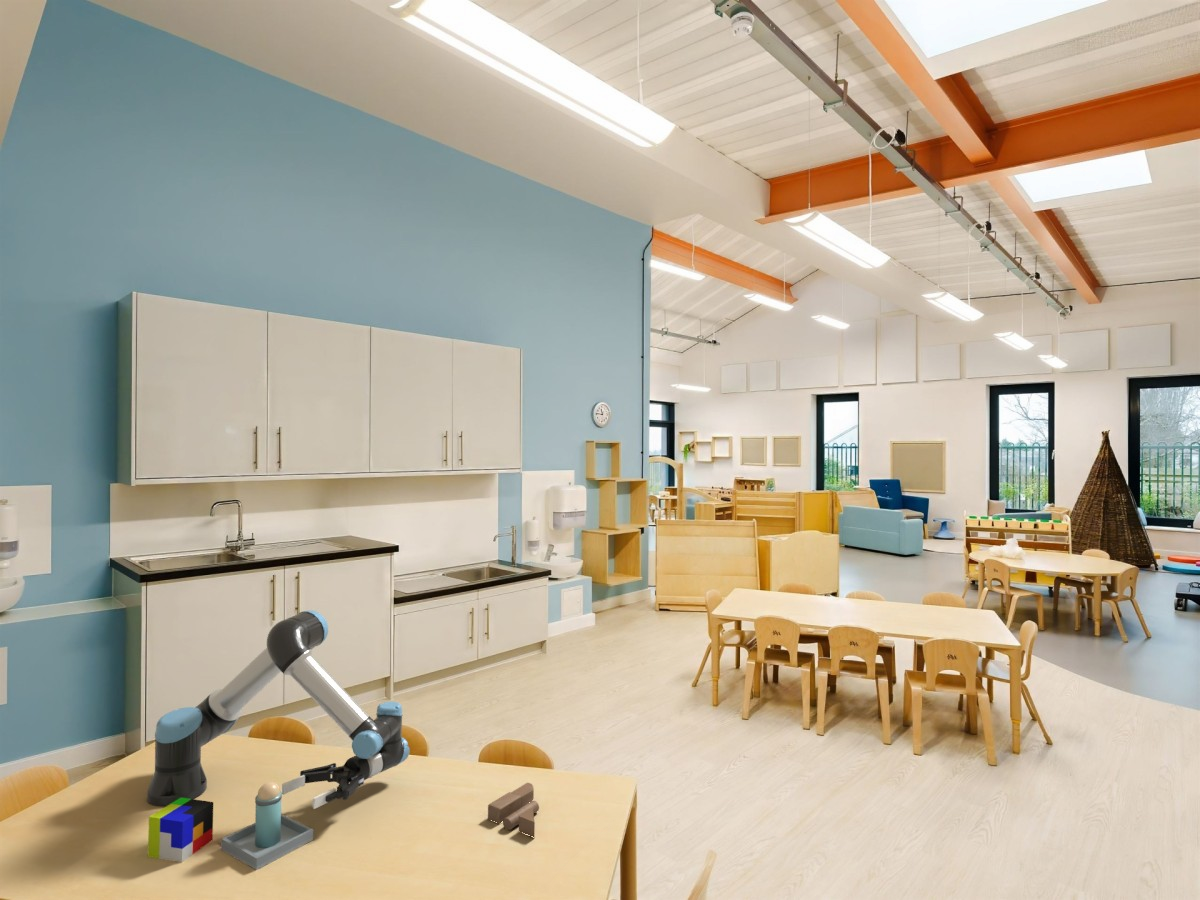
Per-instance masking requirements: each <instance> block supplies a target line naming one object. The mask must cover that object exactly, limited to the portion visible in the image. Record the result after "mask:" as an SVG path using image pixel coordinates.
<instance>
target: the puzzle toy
mask: <svg viewBox="0 0 1200 900" xmlns="http://www.w3.org/2000/svg"><path fill="white" fill-rule="evenodd" d="M213 827H214V801H208V800H201V799H195V798H194V799H188V798H179V799H178V800H176V801H174V802H173V803H171V804H169V805H165V807H163V808H162V809H161V808H160V809H159V810H158V811H156V812H155V813H153V814H151V815H149V817H148V841H147V842H148V843H147V844H148V845H147V857H148V858H154V859H160V860H167V861H171V862H172V861H174V862H180V863H183V862H184V861H186V860H187V859H188V858H190V857H191V856H193V855H194V854H195V853H197V852H198V851H199V850H201V849H202V848H204V847H205V846H206V845H208V844H209V843H210V842H212V841H213V835H214V834H213V833H214V832H213V831H214V828H213Z"/></svg>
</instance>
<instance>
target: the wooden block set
mask: <svg viewBox="0 0 1200 900" xmlns="http://www.w3.org/2000/svg"><path fill="white" fill-rule="evenodd" d="M534 791H535V788H534V785H533V784H532V783H530V782H525V783H524V784H522V785H521V786H520V787H517V788H516V789H514V790H513V791H510V792H507V793H505V794H504V795H501V797H499V798H497V799H495V800H494V801H492V802H491V803H489V804H488V805H487V820H488V819H489V820H488V821H490V820H492V821H495V822H497V823H501V822H502V821H503V823H501V824H502V825H503V828H504V829H505V828H506V829H508V830H507V831H511V830H512V829H514V828H515V827H517V826H518V832H519V831H520V832H523V833H525V834H528V835H530V836H533V837H534V838H535V827H536V826H535V824H536V823H535V817H534V815H535V814H536V813H538V812H539V810H540V805H539V803H538V802H537V801H536V800H534V801H532V800H533V799H534V795H535V794H534ZM529 802H530V803H529ZM537 811H538V812H537ZM534 813H535V814H534ZM492 821H491V822H492ZM497 823H496V824H497ZM506 829H505V830H506Z"/></svg>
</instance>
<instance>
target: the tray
mask: <svg viewBox="0 0 1200 900" xmlns="http://www.w3.org/2000/svg"><path fill="white" fill-rule="evenodd" d="M313 840H314V829H313V828H312V827H309V826H307V825H305V824H303V823H301V822H299V821H297V820H295V819H292V817H288V816H286V815H284V814H283V813H281V840H280V841H279V843H277V844H276V845H274V846H272V847H268V848H258V847H256V846H255V822H254V823H252V824H250V825H247V826H245V827H243V828H242V829H239V830H237V831H235V832H233V833H230V834H228V835H226V836H223V837H222V838H221V841H220V842H221V844H220V850H221V851H223V852H224V853H226V854H228V855H230V856H231V857H233V858H235V859H236V860H238V861H240V862H242V863H244V864H245V865H247V866H249V867H250V868H251V869H252V868H253V869H254V870H256V871H257V870H259V869H261V868H263V867H264V866H265V867H266V866H267V865H268V864H270V863H273V862H274V861H276V860H278V859H280V858H282V857H284V856H286V855H287V854H290V853H291V852H294V851H295V850H297V849H299V848H300V847H302V846H304V845H307V844H308V843H310V842H312V841H313Z"/></svg>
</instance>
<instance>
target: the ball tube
mask: <svg viewBox="0 0 1200 900" xmlns="http://www.w3.org/2000/svg"><path fill="white" fill-rule="evenodd" d="M282 798H283V794H282V790H280V786H279V785H278V784H277V783H276V782H275V781H269V782H265V783H263V784H262V785H261V787H260V788H259V789H258V792H257V795H256V796H255V798H254V800H255V801H254V803H255V817H254V818H255V821H254V823H255V846H256V847H258V848H268V847H272V846H274V845H276V844H277V843H279V841H280V840H281V814H282Z"/></svg>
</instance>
